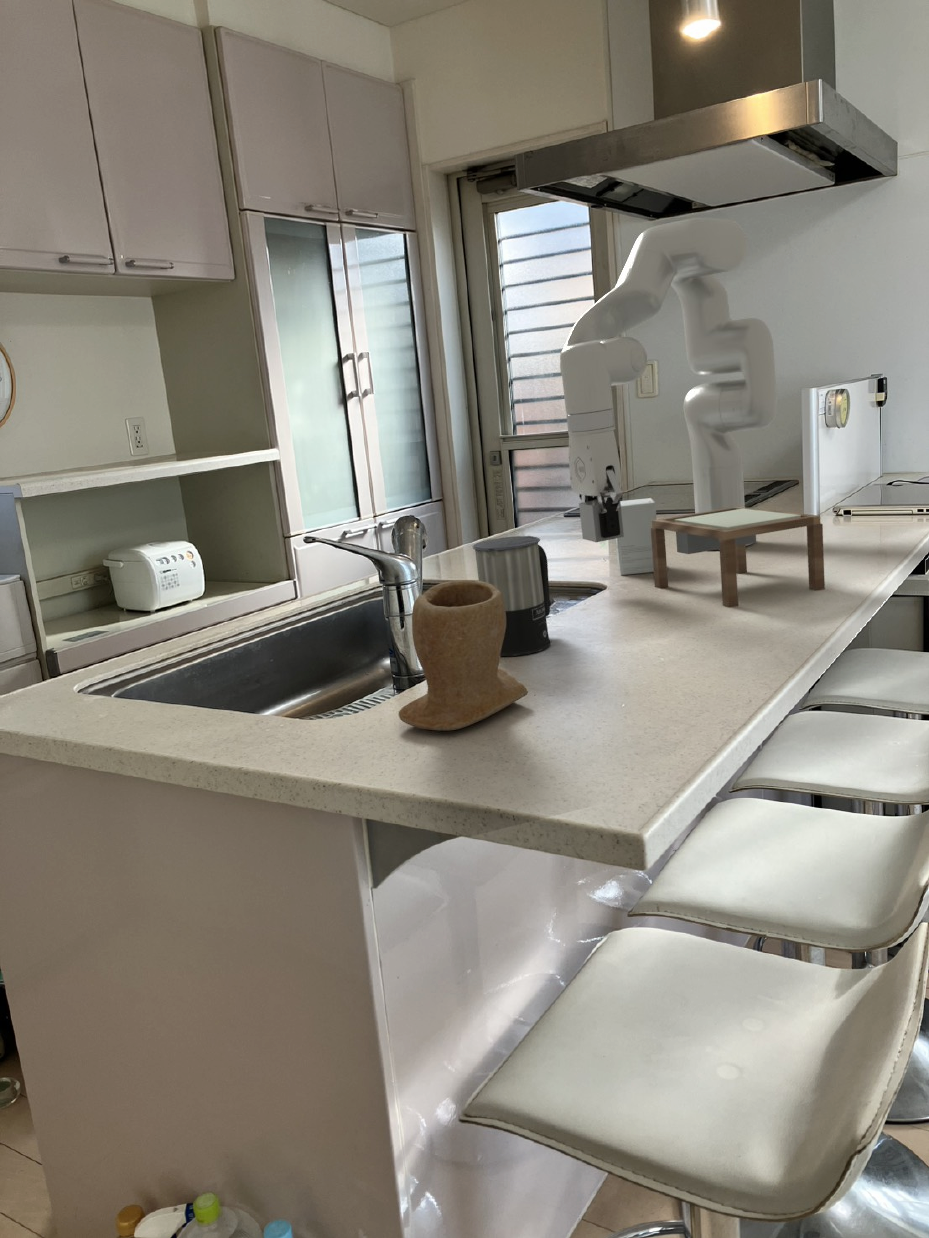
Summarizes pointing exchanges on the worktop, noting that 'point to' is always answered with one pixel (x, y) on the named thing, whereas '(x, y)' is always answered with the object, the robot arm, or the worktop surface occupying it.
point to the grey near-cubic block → (595, 521)
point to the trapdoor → (725, 527)
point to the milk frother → (518, 589)
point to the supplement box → (636, 537)
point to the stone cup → (460, 656)
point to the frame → (738, 548)
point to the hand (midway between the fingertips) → (602, 533)
